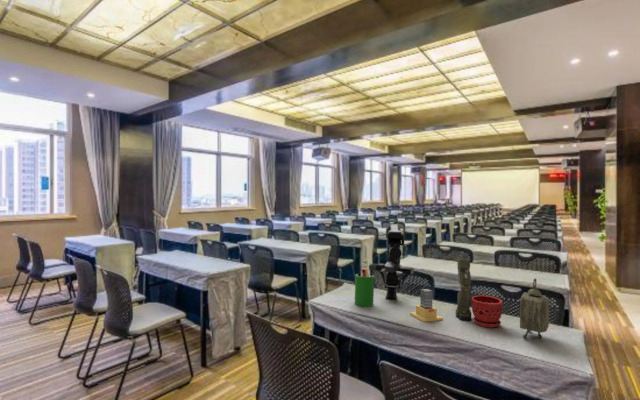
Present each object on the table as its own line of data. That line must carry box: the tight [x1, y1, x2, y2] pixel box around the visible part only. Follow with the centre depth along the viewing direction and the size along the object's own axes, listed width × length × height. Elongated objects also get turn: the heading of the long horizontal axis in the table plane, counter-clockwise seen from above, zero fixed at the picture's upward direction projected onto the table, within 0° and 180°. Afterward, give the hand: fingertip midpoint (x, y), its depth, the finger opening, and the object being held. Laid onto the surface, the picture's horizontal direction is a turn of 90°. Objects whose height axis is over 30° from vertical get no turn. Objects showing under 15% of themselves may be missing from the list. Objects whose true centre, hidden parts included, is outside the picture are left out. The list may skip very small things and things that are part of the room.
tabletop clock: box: [519, 278, 550, 340], centre depth 146 cm, size 14×9×25 cm, turn 141°
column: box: [419, 288, 434, 309], centre depth 168 cm, size 4×4×12 cm
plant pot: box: [470, 295, 503, 329], centre depth 160 cm, size 13×13×12 cm
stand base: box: [409, 304, 443, 323], centre depth 168 cm, size 11×11×5 cm
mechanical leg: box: [455, 257, 472, 322], centre depth 171 cm, size 14×7×30 cm, turn 169°
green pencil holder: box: [354, 267, 375, 307], centre depth 186 cm, size 10×9×20 cm
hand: (393, 285), depth 175 cm, fingers open, 9 cm apart
